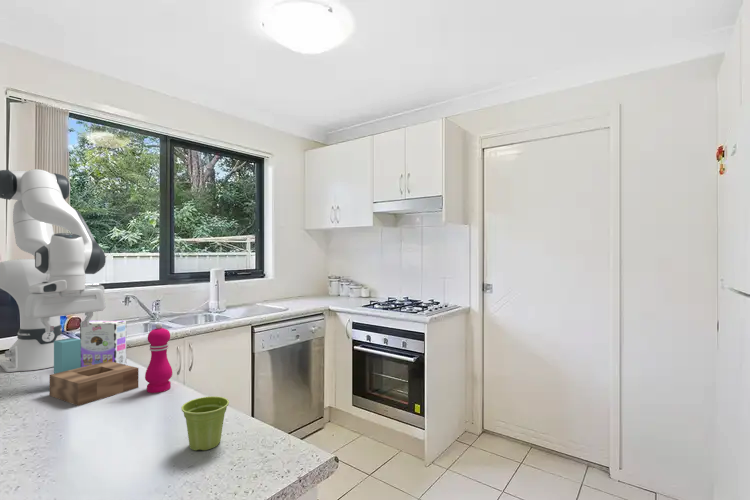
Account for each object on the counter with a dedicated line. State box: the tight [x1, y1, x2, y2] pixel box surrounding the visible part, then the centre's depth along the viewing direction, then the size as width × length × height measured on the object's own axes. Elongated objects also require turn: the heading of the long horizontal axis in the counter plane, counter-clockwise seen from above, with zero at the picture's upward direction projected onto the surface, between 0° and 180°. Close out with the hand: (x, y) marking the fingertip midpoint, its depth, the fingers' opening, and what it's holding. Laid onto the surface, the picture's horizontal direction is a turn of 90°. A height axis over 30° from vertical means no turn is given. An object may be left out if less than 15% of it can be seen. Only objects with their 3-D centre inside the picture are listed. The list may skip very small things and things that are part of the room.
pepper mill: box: [144, 322, 173, 394], centre depth 117 cm, size 7×7×20 cm
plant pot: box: [180, 395, 230, 451], centre depth 83 cm, size 9×9×9 cm
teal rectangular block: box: [53, 337, 81, 374], centre depth 120 cm, size 5×5×14 cm
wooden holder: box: [48, 361, 139, 407], centre depth 115 cm, size 16×16×6 cm
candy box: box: [79, 320, 127, 367], centre depth 140 cm, size 14×6×16 cm, turn 84°
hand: (68, 329), depth 120 cm, fingers open, 8 cm apart
